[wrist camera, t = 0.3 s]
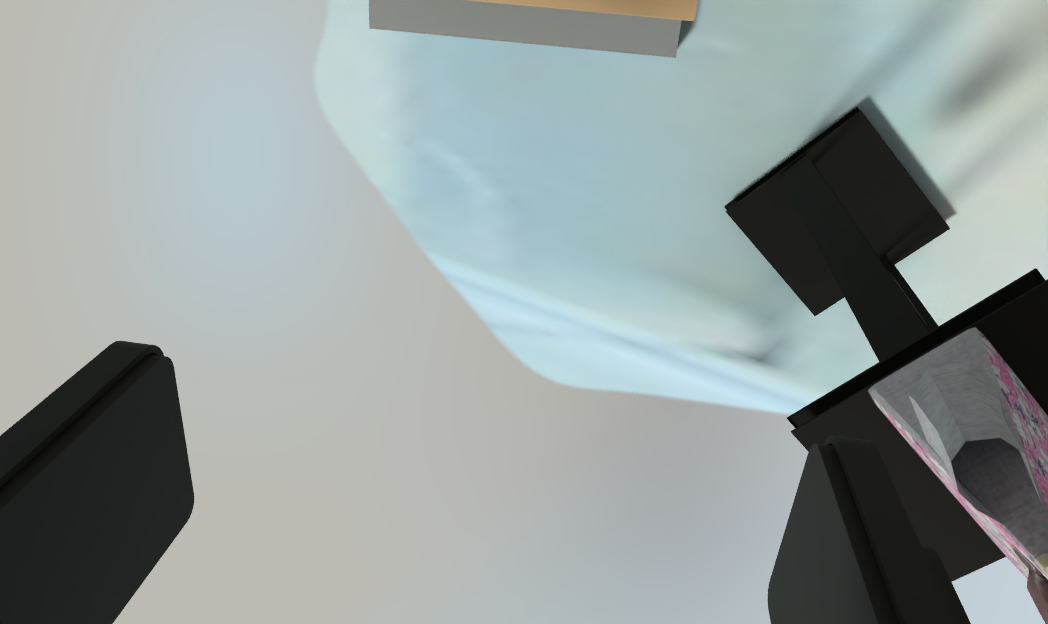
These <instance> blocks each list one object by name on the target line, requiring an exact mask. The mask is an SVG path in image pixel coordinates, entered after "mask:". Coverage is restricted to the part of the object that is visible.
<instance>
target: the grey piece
mask: <svg viewBox="0 0 1048 624" xmlns="http://www.w3.org/2000/svg"><path fill="white" fill-rule="evenodd" d="M681 21H682V20H675V19H664V18H653V17H642V16H631V15H621V14H610V13H599V12H588V11H577V10H566V9H555V8H544V7H534V6H523V5H512V4H501V3H490V2H479V1H468V0H369V26H370V28H371V29H382V30H392V31H403V32H413V33H424V34H434V35H445V36H455V37H465V38H476V39H486V40H497V41H507V42H518V43H528V44H538V45H549V46H559V47H570V48H580V49H591V50H601V51H612V52H622V53H632V54H643V55H653V56H664V57H674V58H676V53H677V47H678V40H679V34H680V28H681Z"/></svg>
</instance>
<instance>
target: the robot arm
mask: <svg viewBox="0 0 1048 624" xmlns="http://www.w3.org/2000/svg"><path fill="white" fill-rule="evenodd" d="M193 505H194V492H193V486H192V480H191V473H190V467H189V460H188V454H187V448H186V441H185V435H184V429H183V422H182V416H181V410H180V404H179V397H178V391H177V384H176V378H175V372H174V366H173V363H172V361H171V359H170V358H168V357H165V356H164V355H163V352H162V350H161V349H160V348H159V347H157V346H155V345H148V344H140V343H133V342H126V341H116V342H114V343H112V344H111V345H109V346H108V347H107V348H106V349H105V350H103V351H102V352H101V353H100V354H99V355H98V356H96V357H95V358H94V359H93V360H92V361H90V362H89V363H88V364H87V365H85V366H84V367H83V368H82V369H81V370H80V371H78V372H77V373H76V374H75V375H74V376H72V377H71V378H70V379H68V380H67V381H66V382H65V383H64V384H63V385H61V386H60V387H59V388H58V389H56V390H55V391H54V392H53V393H51V394H50V395H49V396H48V397H47V398H45V399H44V400H43V401H42V402H41V403H39V404H38V405H37V406H36V407H35V408H33V409H32V410H31V411H30V412H29V413H27V414H26V415H25V416H24V417H23V418H21V419H20V420H19V421H18V422H16V424H14V425H13V426H12V427H10V428H9V429H8V430H7V431H6V432H4V433H3V434H2V435H1V436H0V624H112V623H113V622H114V621H115V619H116V618H117V617H118V615H119V614H120V613H121V611H122V610H123V609H124V607H125V606H126V604H127V603H128V602H129V600H130V599H131V598H132V596H133V595H134V593H135V592H136V591H137V589H138V588H139V587H140V585H141V584H142V582H143V581H144V580H145V578H146V577H147V576H148V574H149V573H150V572H151V570H152V569H153V567H154V566H155V565H156V563H157V562H158V561H159V559H160V558H161V557H162V555H163V554H164V553H165V551H166V550H167V548H168V547H169V546H170V544H171V543H172V542H173V540H174V539H175V537H176V536H177V535H178V534H179V532H180V531H181V529H182V528H183V526H184V525H185V524H186V523H187V521H188V519H189V518H190V515H191V513H192V509H193ZM768 609H769V615H770V619H771V624H971V623H970V621H969V619H968V617H967V615H966V613H965V610H964V608H963V606H962V604H961V602H960V600H959V598H958V595H957V593H956V591H955V589H954V587H953V585H952V583H951V580H950V578H949V576H948V574H947V572H946V570H945V568H944V565H943V563H942V561H941V559H940V557H939V556H938V554H937V553H936V551H935V550H934V549H933V548H932V547H930V546H929V545H927V544H920V542H919V540H918V538H917V535H916V533H915V531H914V529H913V526H912V524H911V522H910V520H909V518H908V515H907V513H906V511H905V509H904V506H903V504H902V502H901V500H900V497H899V495H898V493H897V491H896V489H895V486H894V484H893V482H892V480H891V477H890V475H889V473H888V471H887V468H886V466H885V464H884V462H883V459H882V457H881V455H880V453H879V451H878V448H877V446H876V445H875V443H874V442H872V441H870V440H863V439H855V438H848V437H840V436H833V435H831V436H829V437H827V439H826V440H825V442H824V445H822V444H813V445H812V446H811V448H810V450H809V453H808V456H807V460H806V463H805V466H804V470H803V473H802V476H801V480H800V483H799V486H798V489H797V493H796V496H795V499H794V503H793V506H792V509H791V512H790V516H789V519H788V523H787V526H786V529H785V533H784V536H783V539H782V542H781V546H780V549H779V552H778V556H777V559H776V562H775V566H774V569H773V572H772V575H771V579H770V583H769V588H768Z"/></svg>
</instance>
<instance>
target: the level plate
mask: <svg viewBox="0 0 1048 624" xmlns="http://www.w3.org/2000/svg"><path fill="white" fill-rule="evenodd" d="M468 1H479V2H490V3H501V4H512V5H523V6H534V7H544V8H555V9H566V10H577V11H588V12H599V13H610V14H621V15H631V16H642V17H653V18H664V19H675V20H686V21H695V17H696V11H697V4H698V0H468Z"/></svg>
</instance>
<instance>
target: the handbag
mask: <svg viewBox="0 0 1048 624" xmlns="http://www.w3.org/2000/svg"><path fill="white" fill-rule="evenodd" d="M725 208H726V210H727V211H726V212H727V214H728V215H729V216H730V217H731V218H732V220H733V221H734V222H735V223H736V224H737V225H738V227H739V228H740V229H741V230H742V231H743V232H744V234H745V235H746V236H747V237H748V238H749V239H750V241H751V242H752V243H753V244H754V245H755V247H756V248H757V249H758V250H759V251H760V252H761V254H762V255H763V256H764V257H765V258H766V259H767V261H768V262H769V263H770V264H771V265H772V266H773V268H774V269H775V270H776V271H777V272H778V274H779V275H780V276H781V277H782V278H783V279H784V281H785V282H786V283H787V284H788V285H789V286H790V288H791V289H792V290H793V291H794V292H795V293H796V295H797V296H798V297H799V298H800V299H801V300H802V302H803V303H804V304H805V305H806V306H807V308H808V309H809V310H810V311H811V312H812V313H813V315H814V316H816V315H818V314H819V313H821V312H822V311H824V310H825V309H827V308H829V307H830V306H832V305H833V304H835V303H836V302H838V301H839V300H841V299H842V298H844V297H845V298H846V300H847V302H848V304H849V306H850V308H851V310H852V311H853V313H854V315H855V317H856V319H857V321H858V323H859V324H860V326H861V328H862V330H863V332H864V334H865V336H866V338H867V339H868V341H869V343H870V345H871V347H872V349H873V351H874V352H875V354H876V356H877V358H878V360H879V363H877V364H875V365H874V366H872V367H870V368H869V369H867V370H865V371H864V372H862V373H860V374H859V375H857V376H855V377H854V378H852V379H850V380H849V381H847V382H846V383H844V384H842V385H841V386H839V387H837V388H836V389H834V390H832V391H831V392H829V393H827V394H826V395H824V396H822V397H821V398H819V399H817V400H816V401H814V402H812V403H811V404H809V405H807V406H806V407H804V408H802V409H801V410H799V411H797V412H796V413H794V414H792V415H791V416H789V417H787V419H788V420H789V422H790V423H791V424H792V425H793V426H794V427H795V428H796V429H794V430H792V431H791V433H792V434H793V435H794V436H795V437H796V438H797V439H798V440H799V441H800V443H801V444H802V445H803V446H804V447H805V448H806V449H807V450H808V451H809V450H810V448H811V446H812V445H813V444H822V445H824V442H825V440H826V439H827V437H829V436H831V435H833V436H840V437H848V438H855V439H863V440H870V441H872V442H874V443H875V445H876V446H877V448H878V451H879V453H880V455H881V457H882V459H883V462H884V464H885V466H886V468H887V471H888V473H889V475H890V477H891V480H892V482H893V484H894V486H895V489H896V491H897V493H898V495H899V497H900V500H901V502H902V504H903V506H904V509H905V511H906V513H907V515H908V518H909V520H910V522H911V524H912V526H913V529H914V531H915V533H916V535H917V538H918V540H919V542H920V544H927V545H929V546H930V547H932V548H933V549H934V550H935V551H936V553H937V554H938V556H939V557H940V559H941V561H942V563H943V565H944V568H945V570H946V572H947V574H948V576H949V578H950V580H951V582H952V581H954V580H956V579H958V578H960V577H963V576H965V575H967V574H969V573H971V572H973V571H975V570H978V569H980V568H982V567H984V566H987V565H989V564H991V563H993V562H995V561H997V560H1000V559H1002V558H1004V557H1007V558H1008V559H1009V560H1010V561H1011V562H1012V563H1013V565H1014V566H1015V567H1016V568H1017V569H1019V571H1020V572H1021V573H1022V574H1023V575H1024V576H1025V577H1026V578H1027V579H1028V581H1027V589H1028V591H1029V593H1030V595H1031V597H1032V598H1033V601H1034V603H1035V604H1036V607H1037V608H1038V610H1039V612H1040V614H1041V616H1042V618H1043V620H1044V621H1045V623H1046V624H1048V280H1046V281H1045V279H1044V278H1043V277H1042V275H1041V274H1040V272H1039V271H1038V270H1037V269H1036V268H1035V269H1034V270H1032V271H1030V272H1029V273H1027V274H1025V275H1024V276H1022V277H1020V278H1019V279H1017V280H1015V281H1014V282H1012V283H1010V284H1009V285H1007V286H1005V287H1004V288H1002V289H1000V290H999V291H997V292H995V293H994V294H992V295H990V296H989V297H987V298H985V299H984V300H982V301H980V302H979V303H977V304H975V305H974V306H972V307H970V308H969V309H967V310H965V311H964V312H962V313H960V314H959V315H957V316H955V317H954V318H952V319H950V320H949V321H947V322H945V323H944V324H942V325H940V326H938V325H937V324H936V322H935V321H934V319H933V318H932V317H931V315H930V314H929V313H928V311H927V310H926V308H925V307H924V306H923V304H922V303H921V301H920V300H919V299H918V297H917V296H916V295H915V293H914V292H913V290H912V289H911V288H910V286H909V285H908V283H907V282H906V281H905V279H904V278H903V277H902V275H901V274H900V272H899V271H898V270H897V268H896V267H895V264H896V263H898V262H899V261H901V260H902V259H904V258H906V257H907V256H909V255H910V254H912V253H913V252H915V251H916V250H918V249H919V248H921V247H922V246H924V245H926V244H927V243H929V242H930V241H932V240H933V239H935V238H936V237H938V236H939V235H941V234H942V233H944V232H946V231H947V230H949V229H950V228H949V226H948V225H947V224H946V222H945V221H944V220H943V218H942V217H941V216H940V214H939V213H938V212H937V210H936V209H935V208H934V206H933V205H932V204H931V202H930V201H929V200H928V198H927V197H926V196H925V194H924V193H923V192H922V191H921V189H920V188H919V187H918V185H917V184H916V183H915V181H914V180H913V179H912V177H911V176H910V175H909V173H908V172H907V171H906V169H905V168H904V167H903V165H902V164H901V163H900V161H899V160H898V159H897V157H896V156H895V155H894V153H893V152H892V151H891V149H890V148H889V147H888V146H887V144H886V143H885V142H884V140H883V139H882V138H881V136H880V135H879V134H878V132H877V131H876V130H875V128H874V127H873V126H872V124H871V123H870V122H869V120H868V119H867V118H866V116H865V115H864V114H863V112H862V111H861V110H859V109H858V107H856V108H855V109H854V110H852V111H851V112H850V113H848V114H847V115H846V116H844V117H843V118H842V119H840V120H839V121H838V122H836V123H835V124H834V125H832V126H831V127H830V128H828V129H827V130H826V131H824V132H823V133H822V134H820V135H819V136H818V137H816V138H815V139H814V140H812V141H811V142H810V143H809V144H807V145H806V146H805V147H803V148H802V149H801V150H799V151H798V152H797V153H795V154H794V155H793V156H791V157H790V158H789V159H787V160H786V161H785V162H783V163H782V164H781V165H779V166H778V167H777V168H775V169H774V170H773V171H771V172H770V173H769V174H767V175H766V176H765V177H763V178H762V179H761V180H759V181H758V182H757V183H755V184H754V185H753V186H751V187H750V188H749V189H747V190H746V191H745V192H743V193H742V194H741V195H739V196H738V197H737V198H735V199H734V200H733V201H731V202H730V203H729V204H727V205H726V206H725Z"/></svg>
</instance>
